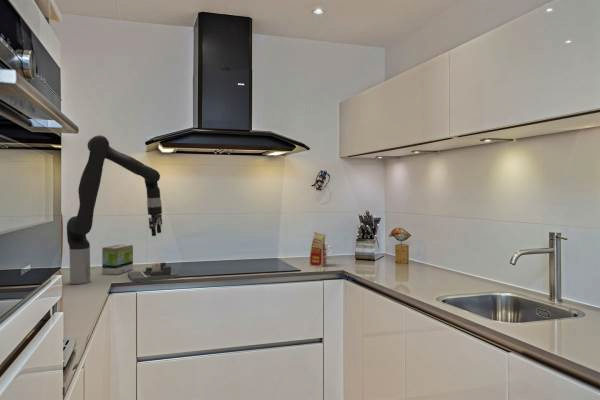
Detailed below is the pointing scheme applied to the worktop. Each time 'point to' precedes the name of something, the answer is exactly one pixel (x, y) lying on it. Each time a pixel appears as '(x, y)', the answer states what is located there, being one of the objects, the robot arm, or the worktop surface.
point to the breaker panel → (142, 278)
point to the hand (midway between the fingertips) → (156, 234)
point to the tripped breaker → (156, 267)
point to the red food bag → (318, 251)
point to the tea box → (117, 259)
